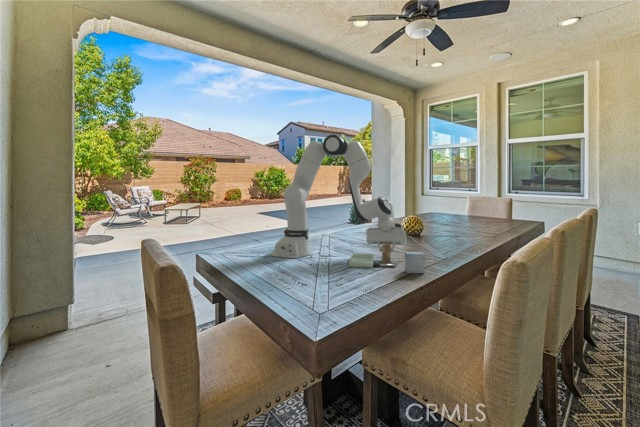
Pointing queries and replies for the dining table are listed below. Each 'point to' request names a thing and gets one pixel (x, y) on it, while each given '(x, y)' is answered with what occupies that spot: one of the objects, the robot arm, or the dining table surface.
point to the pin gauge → (383, 265)
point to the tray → (361, 260)
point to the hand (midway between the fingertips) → (386, 250)
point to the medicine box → (414, 262)
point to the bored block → (386, 252)
